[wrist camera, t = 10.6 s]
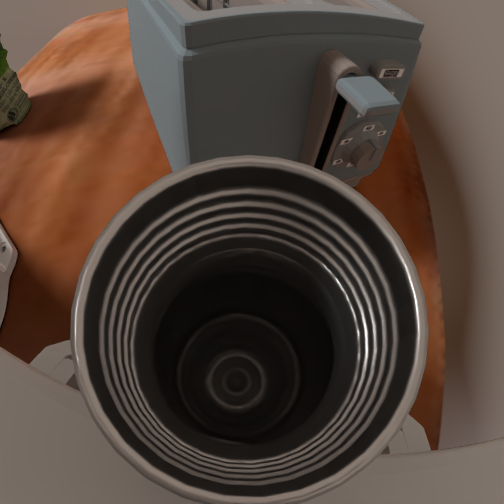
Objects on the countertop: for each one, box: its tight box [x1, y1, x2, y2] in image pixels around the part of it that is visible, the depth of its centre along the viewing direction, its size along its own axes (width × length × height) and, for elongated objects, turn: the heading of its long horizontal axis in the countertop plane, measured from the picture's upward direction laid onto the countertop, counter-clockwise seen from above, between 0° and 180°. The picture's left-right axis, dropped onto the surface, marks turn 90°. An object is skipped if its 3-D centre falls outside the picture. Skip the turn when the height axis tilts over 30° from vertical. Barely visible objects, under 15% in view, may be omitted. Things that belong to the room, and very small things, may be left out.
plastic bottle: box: [70, 155, 429, 504], centre depth 11 cm, size 6×7×20 cm
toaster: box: [127, 0, 424, 188], centre depth 25 cm, size 19×35×20 cm, turn 25°
